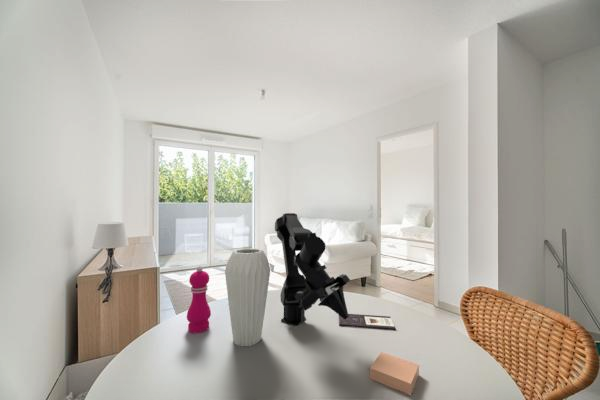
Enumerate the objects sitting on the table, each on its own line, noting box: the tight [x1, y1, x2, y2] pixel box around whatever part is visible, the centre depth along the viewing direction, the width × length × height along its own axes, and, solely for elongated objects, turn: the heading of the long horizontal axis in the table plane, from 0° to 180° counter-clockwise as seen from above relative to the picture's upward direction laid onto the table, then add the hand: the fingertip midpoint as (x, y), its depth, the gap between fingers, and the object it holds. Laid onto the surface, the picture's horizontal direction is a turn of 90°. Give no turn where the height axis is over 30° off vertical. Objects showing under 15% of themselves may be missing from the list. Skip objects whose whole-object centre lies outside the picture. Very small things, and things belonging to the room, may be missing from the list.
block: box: [369, 351, 420, 395], centre depth 60 cm, size 3×8×9 cm
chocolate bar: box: [338, 313, 396, 331], centre depth 89 cm, size 9×1×18 cm
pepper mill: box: [186, 266, 212, 334], centre depth 83 cm, size 7×7×20 cm
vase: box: [224, 248, 271, 348], centre depth 77 cm, size 13×13×26 cm
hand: (346, 318), depth 68 cm, fingers closed
